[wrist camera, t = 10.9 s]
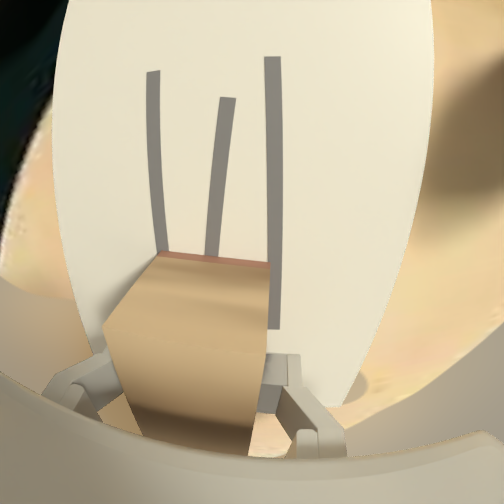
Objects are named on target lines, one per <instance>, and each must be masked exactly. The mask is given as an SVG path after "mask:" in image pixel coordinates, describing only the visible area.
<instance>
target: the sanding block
mask: <svg viewBox="0 0 504 504" xmlns="http://www.w3.org/2000/svg"><path fill="white" fill-rule="evenodd" d="M269 286H270V262H262V261H253V260H244V259H235V258H225V257H216V256H207V255H198V254H189V253H180V252H172V251H163V250H161V251H160V253H159V254H158V255H157V256H156V257H155V259H154V260H153V261H152V262H151V264H150V265H149V266H148V267H147V268H146V270H145V271H144V272H143V273H142V275H141V276H140V277H139V278H138V280H137V281H136V282H135V283H134V285H133V286H132V287H131V288H130V290H129V291H128V292H127V294H126V295H125V296H124V297H123V299H122V300H121V301H120V303H119V304H118V305H117V307H116V308H115V309H114V311H113V312H112V313H111V315H110V316H109V317H108V319H107V320H106V321H105V323H104V324H103V325H102V330H103V333H104V336H105V340H106V343H107V346H108V349H109V352H110V355H111V358H112V361H113V364H114V367H115V370H116V372H117V375H118V378H119V381H120V383H121V386H122V388H123V391H124V393H125V396H126V398H127V401H128V403H129V405H130V408H131V410H132V413H133V415H134V417H135V419H136V421H137V424H138V426H139V428H140V430H141V432H142V434H143V436H145V437H148V438H152V439H156V440H160V441H164V442H168V443H172V444H176V445H181V446H186V447H191V448H196V449H201V450H207V451H213V452H219V453H227V454H234V455H243V456H248V451H249V446H250V441H251V436H252V430H253V425H254V420H255V415H256V409H257V404H258V398H259V393H260V387H261V381H262V376H263V370H264V364H265V358H266V346H267V327H268V307H269Z"/></svg>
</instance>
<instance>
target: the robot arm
mask: <svg viewBox="0 0 504 504" xmlns="http://www.w3.org/2000/svg"><path fill="white" fill-rule="evenodd" d="M123 392H124V391H123V388H122V386H121V383H120V381H119V378H118V375H117V372H116V370H115V367H114V364H113V361H112V358H111V355H110V352H109V349H108V346H107V347H106V348H105V350H104V351H103V353H102V354H101V353H98V354H96V355H94V356H92V357H90V358H88V359H86V360H84V361H82V362H80V363H77V364H75V365H73V366H71V367H69V368H67V369H65V370H63V371H61V372H59V373H57V374H55V375H54V377H53V378H52V379H51V381H50V382H49V384H48V385H47V387H46V388H45V390H44V391H43V393H42V394H41V395H39V394H37V393H35V392H34V391H32V390H30V389H28V388H27V387H25V386H23V385H21V384H20V383H18V382H16V381H14V380H13V379H11V378H10V377H8V376H6V375H5V374H3V373H1V372H0V504H504V444H503V443H502V442H501V441H499V440H498V439H497V438H495V437H494V436H493V435H491V434H490V433H488V432H486V431H485V430H478V431H474V432H471V433H468V434H465V435H462V436H459V437H456V438H452V439H449V440H445V441H441V442H438V443H433V444H429V445H425V446H420V447H416V448H412V449H406V450H400V451H395V452H388V453H381V454H374V455H365V456H355V457H347V450H346V442H345V435H344V428H343V427H342V426H341V425H340V424H339V423H338V422H337V420H336V419H335V418H334V417H333V416H332V415H331V414H330V413H329V412H328V411H327V409H326V408H325V407H324V406H323V405H322V404H321V403H320V402H319V401H318V399H317V398H316V397H315V396H314V395H313V394H312V393H311V392H310V390H309V389H308V388H307V387H303V380H302V366H301V356H300V354H285V353H272V352H266V358H265V364H264V370H263V376H262V381H261V387H260V393H259V398H258V404H257V409H256V412H260V413H270V414H275V415H276V417H277V419H278V420H279V422H280V423H281V425H282V427H283V428H284V430H285V431H286V433H287V434H288V436H289V438H290V439H291V441H292V443H291V445H290V447H289V450H288V452H287V454H286V456H285V458H266V457H253V456H243V455H234V454H227V453H219V452H213V451H207V450H201V449H196V448H191V447H186V446H181V445H176V444H172V443H168V442H164V441H160V440H156V439H152V438H148V437H145V436H141V435H138V434H135V433H131V432H128V431H125V430H122V429H119V428H116V427H113V426H110V425H107V424H105V423H103V421H102V420H101V418H100V416H99V415H98V413H97V411H99V410H100V409H102V408H103V407H104V406H106V405H107V404H108V403H110V402H111V401H113V400H114V399H115V398H117V397H118V396H119V395H121V394H122V393H123Z"/></svg>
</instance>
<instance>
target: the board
mask: <svg viewBox="0 0 504 504" xmlns="http://www.w3.org/2000/svg"><path fill="white" fill-rule="evenodd" d="M433 83H434V38H433V20H432V9H431V0H69V3H68V7H67V11H66V15H65V19H64V24H63V28H62V33H61V39H60V44H59V50H58V56H57V64H56V72H55V81H54V92H53V108H52V160H53V177H54V189H55V199H56V207H57V215H58V222H59V228H60V234H61V240H62V245H63V251H64V256H65V260H66V265H67V270H68V274H69V278H70V282H71V286H72V290H73V294H74V297H75V301H76V304H77V307H78V311H79V314H80V318H81V321H82V324H83V327H84V329H85V333H86V336H87V339H88V342H89V344H90V347H91V350H92V353H93V355H96V354H98V353H101V354H102V353H103V351H104V350H105V348H106V347H107V343H106V340H105V336H104V333H103V330H102V325H103V324H104V323H105V321H106V320H107V319H108V317H109V316H110V315H111V313H112V312H113V311H114V309H115V308H116V307H117V305H118V304H119V303H120V301H121V300H122V299H123V297H124V296H125V295H126V294H127V292H128V291H129V290H130V288H131V287H132V286H133V285H134V283H135V282H136V281H137V280H138V278H139V277H140V276H141V275H142V273H143V272H144V271H145V270H146V268H147V267H148V266H149V265H150V264H151V262H152V261H153V260H154V259H155V257H156V256H157V255H158V254H159V253H160V251H161V250H163V251H172V252H180V253H189V254H198V255H207V256H216V257H225V258H235V259H244V260H253V261H262V262H270V286H269V307H268V327H267V346H266V352H272V353H285V354H300V356H301V366H302V380H303V387H307V388H308V389H309V390H310V392H311V393H312V394H313V395H314V396H315V397H316V398H317V399H318V401H319V402H320V403H321V404H322V405H323V406H324V407H341V405H342V403H343V401H344V399H345V397H346V396H347V394H348V392H349V390H350V388H351V386H352V384H353V382H354V380H355V378H356V376H357V374H358V372H359V370H360V368H361V366H362V363H363V361H364V359H365V357H366V355H367V353H368V350H369V348H370V346H371V344H372V341H373V339H374V337H375V334H376V332H377V329H378V327H379V324H380V322H381V319H382V317H383V314H384V312H385V309H386V307H387V304H388V301H389V298H390V296H391V293H392V290H393V287H394V284H395V281H396V278H397V275H398V272H399V269H400V266H401V263H402V260H403V256H404V253H405V249H406V246H407V242H408V239H409V235H410V231H411V228H412V224H413V220H414V216H415V211H416V207H417V203H418V198H419V193H420V189H421V184H422V178H423V173H424V167H425V161H426V155H427V148H428V141H429V133H430V124H431V114H432V101H433Z"/></svg>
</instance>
